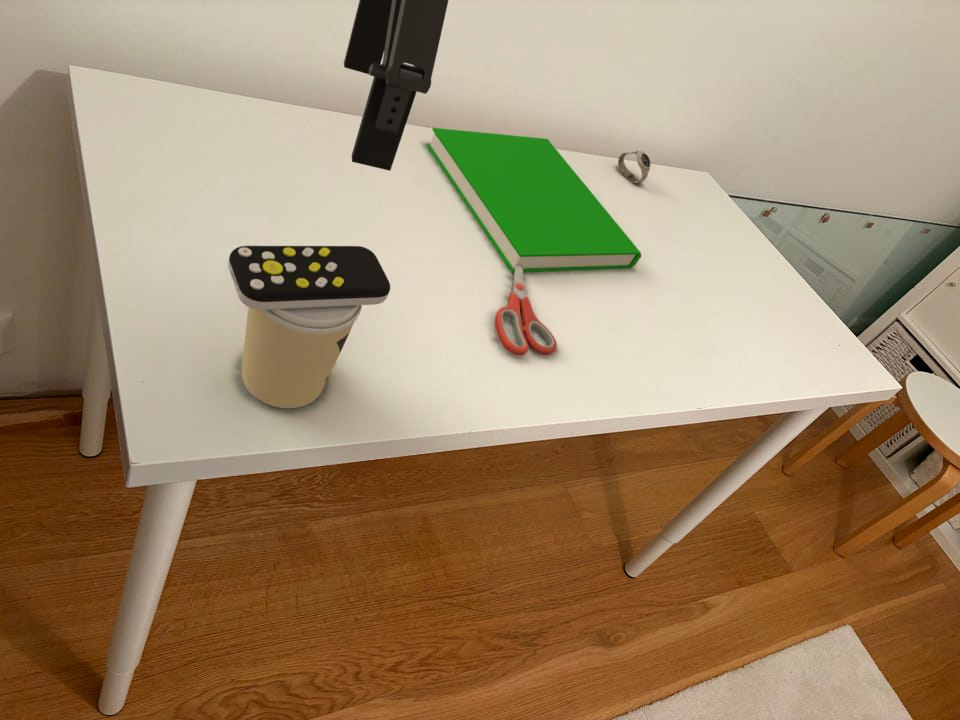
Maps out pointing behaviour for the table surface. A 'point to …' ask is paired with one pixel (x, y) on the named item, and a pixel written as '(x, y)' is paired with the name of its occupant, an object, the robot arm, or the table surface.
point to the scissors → (528, 321)
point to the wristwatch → (642, 162)
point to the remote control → (307, 276)
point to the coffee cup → (293, 351)
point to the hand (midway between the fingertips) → (365, 113)
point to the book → (531, 203)
